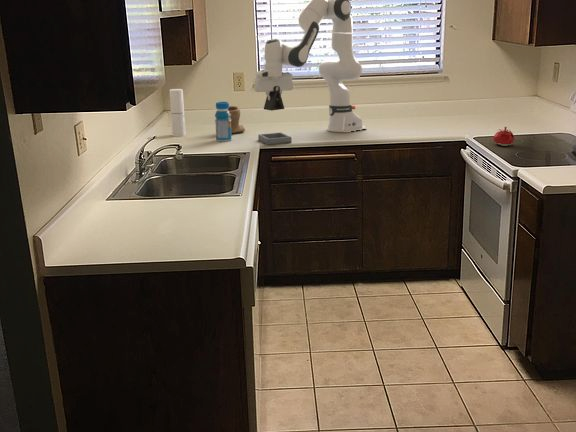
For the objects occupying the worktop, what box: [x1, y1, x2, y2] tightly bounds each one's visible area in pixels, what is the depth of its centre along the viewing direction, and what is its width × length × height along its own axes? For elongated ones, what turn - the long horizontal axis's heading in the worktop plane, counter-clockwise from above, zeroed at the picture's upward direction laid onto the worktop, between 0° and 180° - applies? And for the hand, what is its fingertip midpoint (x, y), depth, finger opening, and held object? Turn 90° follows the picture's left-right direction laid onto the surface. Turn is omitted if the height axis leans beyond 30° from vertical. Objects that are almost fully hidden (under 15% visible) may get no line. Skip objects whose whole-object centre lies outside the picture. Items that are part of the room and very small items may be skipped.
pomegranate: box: [492, 126, 515, 144], centre depth 316 cm, size 10×10×9 cm
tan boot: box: [228, 105, 246, 134], centre depth 356 cm, size 15×12×15 cm
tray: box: [257, 131, 292, 146], centre depth 334 cm, size 13×14×3 cm
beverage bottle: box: [214, 101, 233, 143], centre depth 336 cm, size 8×8×20 cm
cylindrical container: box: [169, 88, 187, 137], centre depth 351 cm, size 7×7×25 cm
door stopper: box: [263, 86, 285, 112], centre depth 328 cm, size 9×6×12 cm, turn 131°
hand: (273, 100), depth 328 cm, fingers closed on door stopper, 3 cm apart
